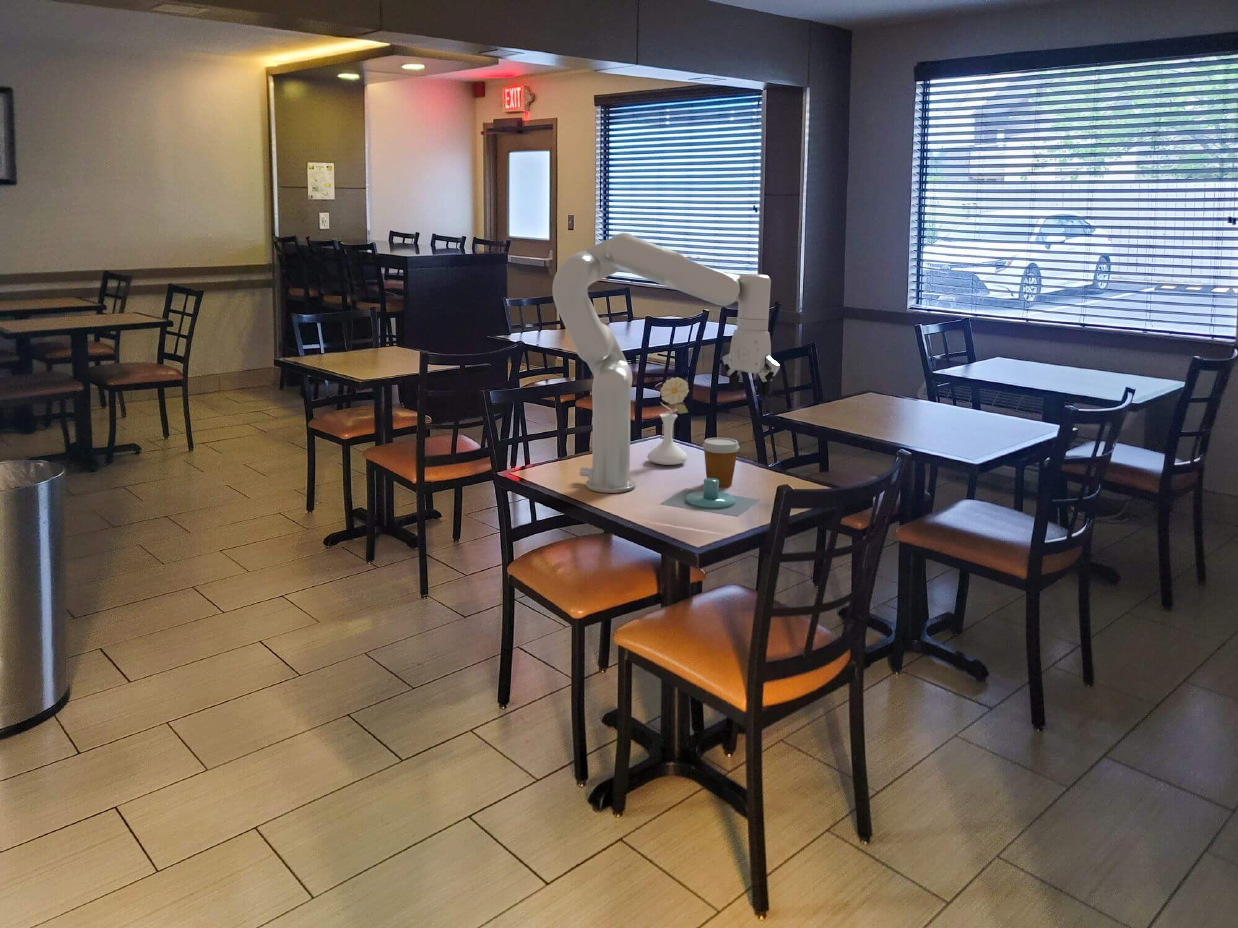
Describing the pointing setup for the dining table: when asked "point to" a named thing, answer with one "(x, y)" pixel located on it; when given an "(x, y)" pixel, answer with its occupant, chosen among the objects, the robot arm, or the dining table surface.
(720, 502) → the lid
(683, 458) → the flower in vase
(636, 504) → the dining table surface
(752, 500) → the mat
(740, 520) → the dining table surface
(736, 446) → the disposable coffee cup
